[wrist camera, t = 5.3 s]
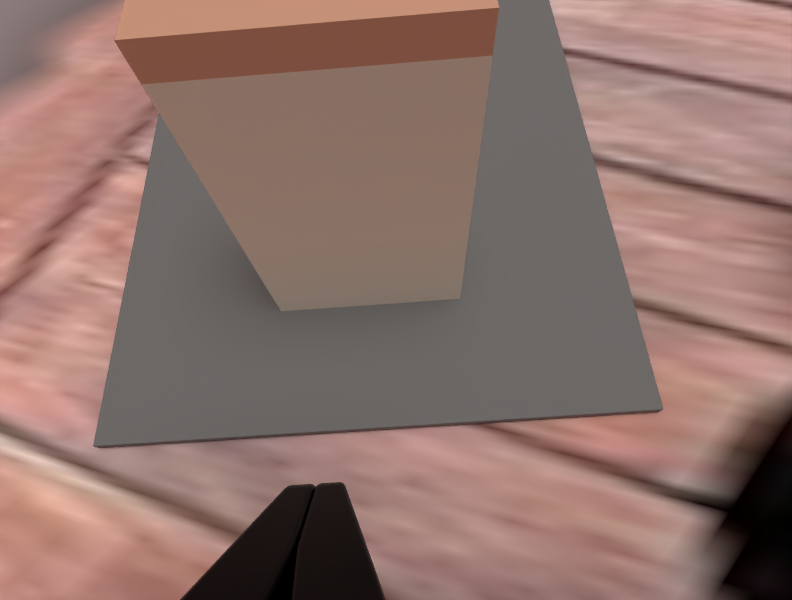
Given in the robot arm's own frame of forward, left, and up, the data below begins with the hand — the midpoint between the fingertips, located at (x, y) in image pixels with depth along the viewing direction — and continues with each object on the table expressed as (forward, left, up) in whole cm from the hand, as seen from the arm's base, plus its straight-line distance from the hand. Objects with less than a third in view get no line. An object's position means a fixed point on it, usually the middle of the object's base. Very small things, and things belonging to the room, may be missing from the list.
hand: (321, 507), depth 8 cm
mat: (+8, -14, -10) cm, 19 cm away
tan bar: (+5, -8, -10) cm, 14 cm away
